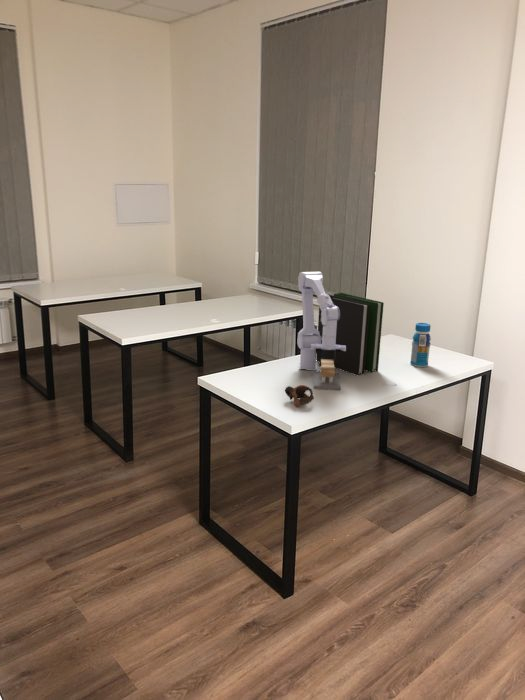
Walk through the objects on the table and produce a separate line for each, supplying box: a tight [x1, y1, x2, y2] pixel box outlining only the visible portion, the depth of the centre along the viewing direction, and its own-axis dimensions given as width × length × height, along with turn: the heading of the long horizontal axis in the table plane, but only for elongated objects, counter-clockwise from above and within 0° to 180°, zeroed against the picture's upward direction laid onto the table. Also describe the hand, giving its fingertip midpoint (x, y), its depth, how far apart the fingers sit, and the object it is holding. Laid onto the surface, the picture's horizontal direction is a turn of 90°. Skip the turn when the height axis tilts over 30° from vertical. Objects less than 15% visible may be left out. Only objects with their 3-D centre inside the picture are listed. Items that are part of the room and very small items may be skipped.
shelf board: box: [319, 359, 336, 377], centre depth 249 cm, size 14×6×4 cm, turn 176°
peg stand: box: [312, 370, 342, 391], centre depth 250 cm, size 20×11×4 cm, turn 176°
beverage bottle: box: [410, 322, 432, 368], centre depth 276 cm, size 8×8×20 cm
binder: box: [316, 292, 385, 376], centre depth 270 cm, size 27×15×32 cm, turn 37°
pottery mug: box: [284, 384, 315, 408], centre depth 224 cm, size 12×10×8 cm
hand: (327, 366), depth 249 cm, fingers closed on shelf board, 5 cm apart
